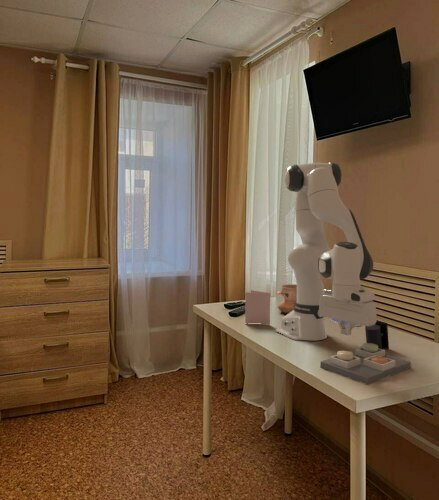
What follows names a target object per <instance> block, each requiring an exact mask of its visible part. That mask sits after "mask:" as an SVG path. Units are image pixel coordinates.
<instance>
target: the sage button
mask: <svg viewBox="0 0 439 500" xmlns="http://www.w3.org/2000/svg"><path fill="white" fill-rule="evenodd" d="M362 347H363V351H367V352H370V353H375V352H378V345H376V344H372V343H365V342H364V343H363V344H362Z"/></svg>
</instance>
